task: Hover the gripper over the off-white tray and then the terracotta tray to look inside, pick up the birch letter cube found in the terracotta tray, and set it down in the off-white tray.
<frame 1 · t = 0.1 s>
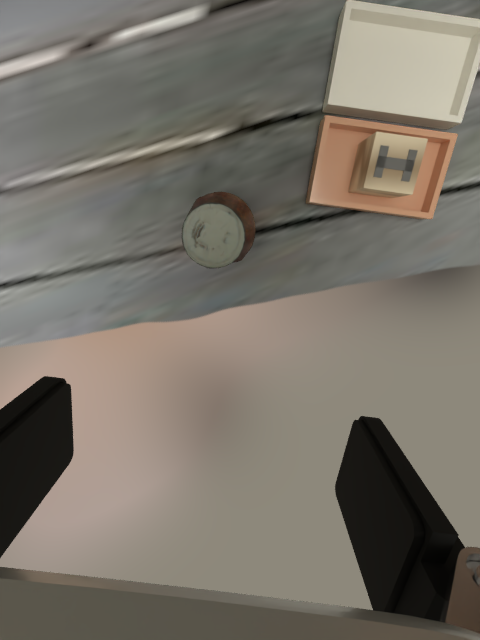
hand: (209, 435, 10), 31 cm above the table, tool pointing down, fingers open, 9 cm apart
tray a: (395, 75, 33), on the table
sauce bottle: (227, 225, 38), on the table
tray b: (372, 172, 36), on the table
letter cube: (374, 171, 35), point 1 cm above the table, touching tray b
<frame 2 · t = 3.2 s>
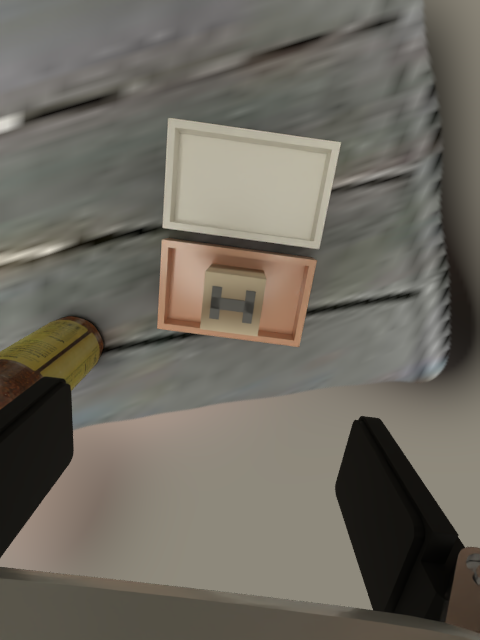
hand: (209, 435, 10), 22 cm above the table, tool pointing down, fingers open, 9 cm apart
tray a: (247, 189, 29), on the table
sauce bottle: (80, 341, 34), on the table
tray b: (234, 290, 31), on the table
letter cube: (234, 291, 31), point 1 cm above the table, touching tray b
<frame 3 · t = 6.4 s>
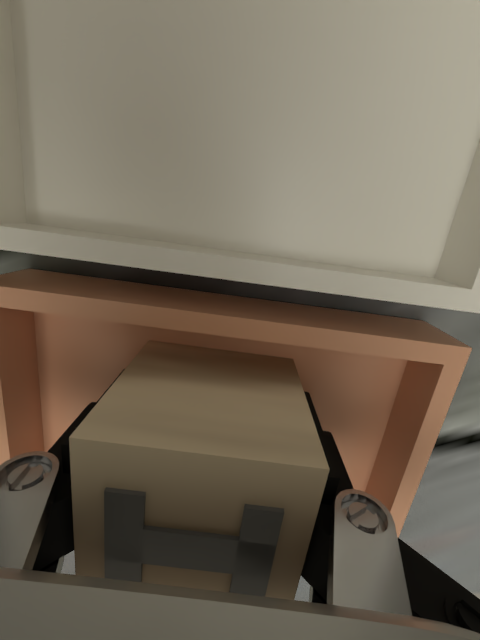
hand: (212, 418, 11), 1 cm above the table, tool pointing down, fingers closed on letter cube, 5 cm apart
tray a: (249, 125, 9), on the table
tray b: (215, 399, 12), on the table
letter cube: (213, 411, 11), point 1 cm above the table, touching gripper, tray b
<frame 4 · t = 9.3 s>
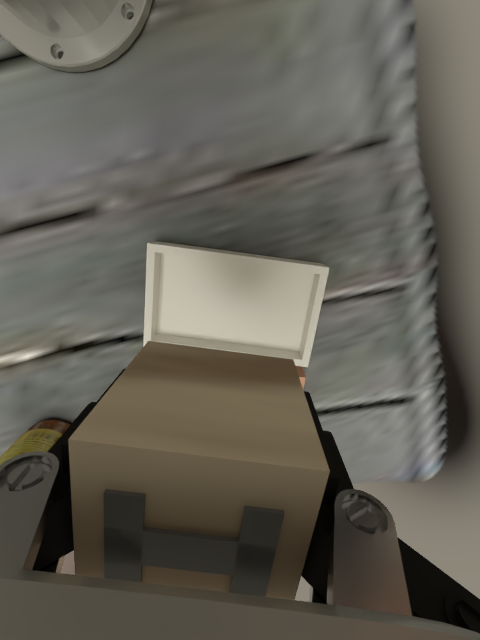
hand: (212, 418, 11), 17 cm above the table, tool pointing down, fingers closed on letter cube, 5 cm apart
tray a: (233, 301, 27), on the table
sauce bottle: (61, 441, 33), on the table
letter cube: (213, 411, 11), point 17 cm above the table, touching gripper
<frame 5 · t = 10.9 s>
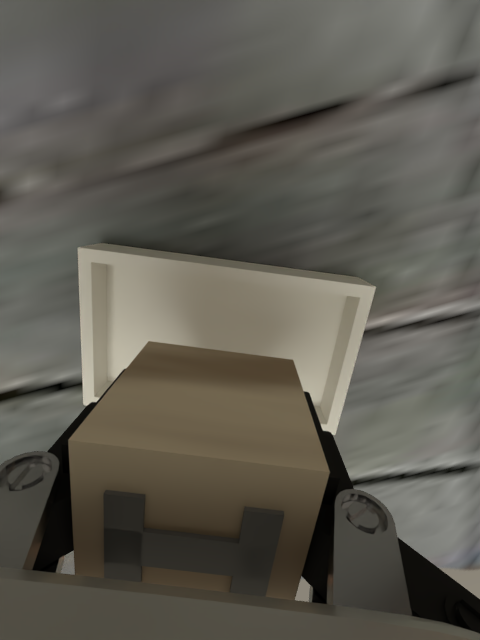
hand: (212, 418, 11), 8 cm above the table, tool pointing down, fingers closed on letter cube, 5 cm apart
tray a: (222, 332, 18), on the table
letter cube: (213, 412, 11), point 7 cm above the table, touching gripper
when the fingers open (3 cm above the table, at t = 12.3 s): letter cube drops 1 cm, resting on tray a.
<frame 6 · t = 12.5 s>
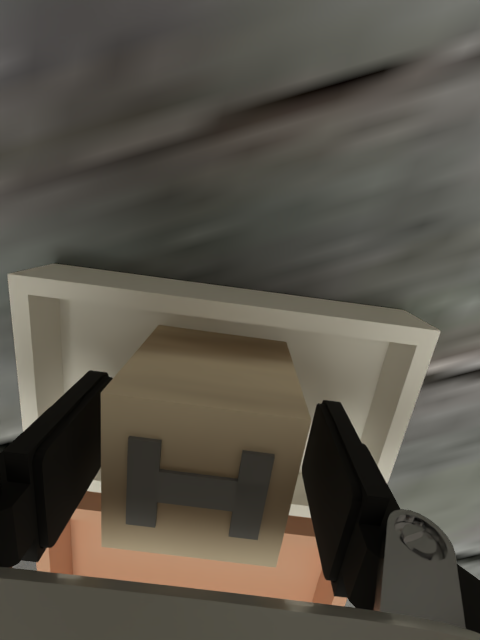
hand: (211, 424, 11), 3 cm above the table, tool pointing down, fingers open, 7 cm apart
tray a: (219, 381, 14), on the table
tray b: (199, 539, 16), on the table
letter cube: (215, 389, 13), point 1 cm above the table, touching tray a
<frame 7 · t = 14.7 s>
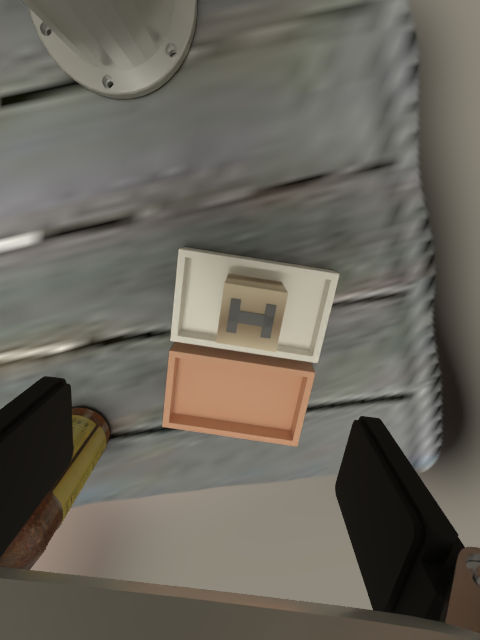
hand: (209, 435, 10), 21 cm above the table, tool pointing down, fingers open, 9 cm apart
tray a: (251, 302, 30), on the table
sauce bottle: (87, 428, 35), on the table
tray b: (237, 388, 33), on the table
letter cube: (250, 303, 29), point 1 cm above the table, touching tray a
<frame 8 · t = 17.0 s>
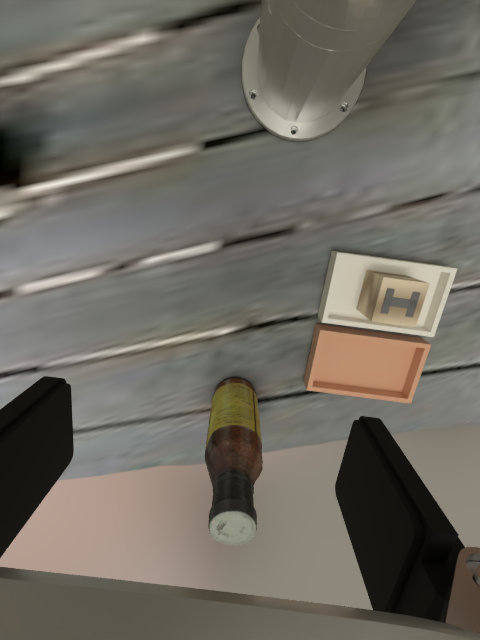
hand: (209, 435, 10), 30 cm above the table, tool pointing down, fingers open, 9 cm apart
tray a: (378, 291, 39), on the table
sauce bottle: (236, 395, 44), on the table
tray b: (360, 359, 42), on the table
letter cube: (381, 292, 38), point 1 cm above the table, touching tray a
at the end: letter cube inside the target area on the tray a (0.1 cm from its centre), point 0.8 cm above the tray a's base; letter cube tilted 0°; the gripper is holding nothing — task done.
